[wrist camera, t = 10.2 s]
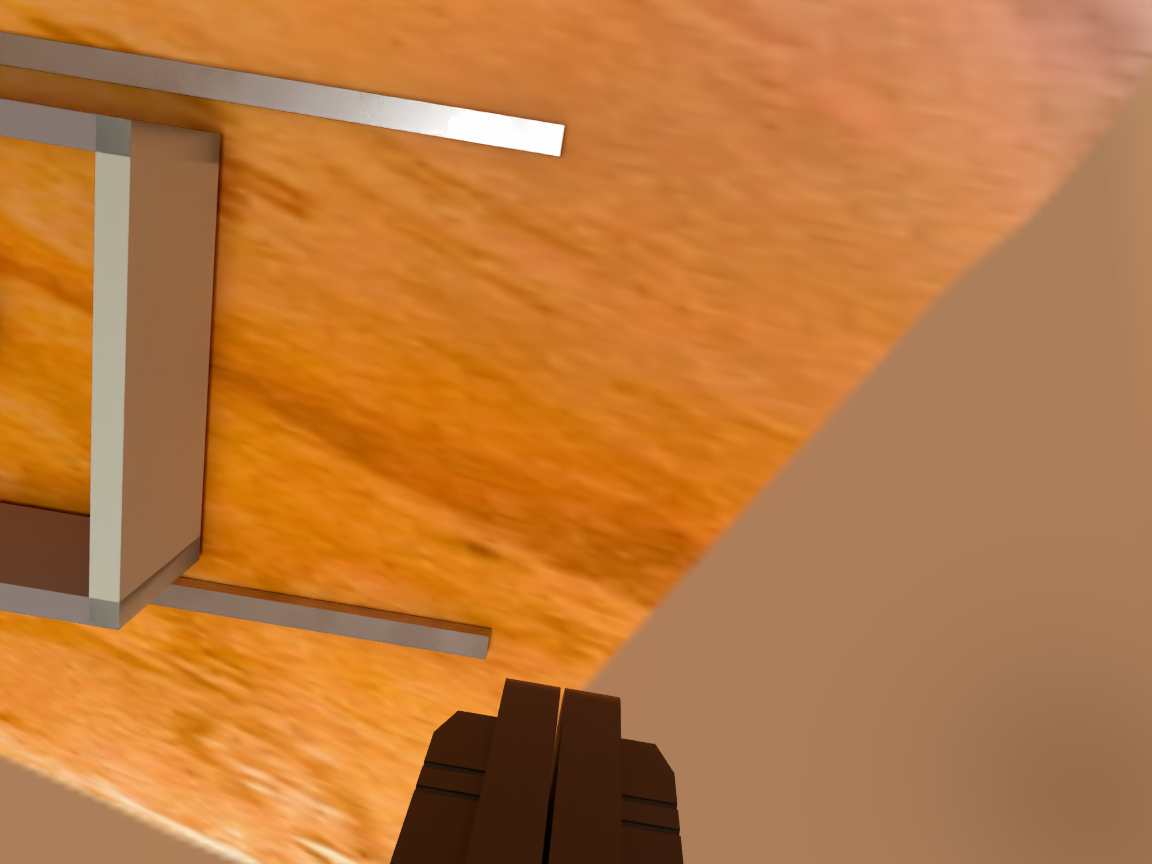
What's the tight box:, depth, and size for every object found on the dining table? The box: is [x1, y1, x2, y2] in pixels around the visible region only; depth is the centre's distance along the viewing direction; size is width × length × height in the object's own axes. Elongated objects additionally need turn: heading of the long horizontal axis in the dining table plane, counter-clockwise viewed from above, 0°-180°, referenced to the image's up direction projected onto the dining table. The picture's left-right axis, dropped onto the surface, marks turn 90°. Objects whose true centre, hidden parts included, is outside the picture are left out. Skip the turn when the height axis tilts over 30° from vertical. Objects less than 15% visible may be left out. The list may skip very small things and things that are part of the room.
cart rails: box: [0, 32, 565, 659], centre depth 39 cm, size 24×30×1 cm
